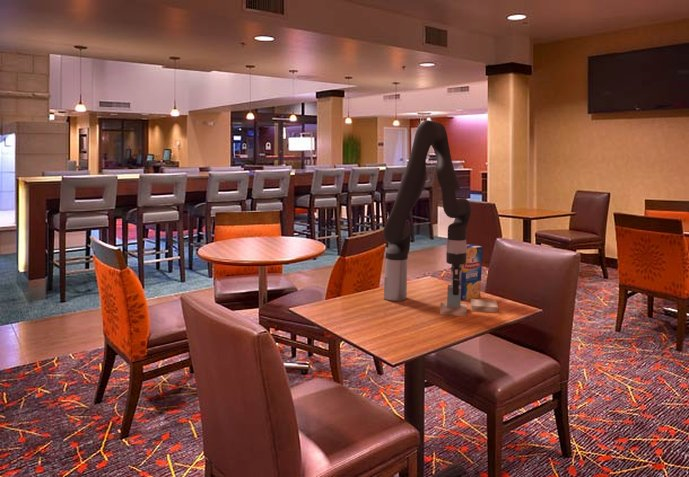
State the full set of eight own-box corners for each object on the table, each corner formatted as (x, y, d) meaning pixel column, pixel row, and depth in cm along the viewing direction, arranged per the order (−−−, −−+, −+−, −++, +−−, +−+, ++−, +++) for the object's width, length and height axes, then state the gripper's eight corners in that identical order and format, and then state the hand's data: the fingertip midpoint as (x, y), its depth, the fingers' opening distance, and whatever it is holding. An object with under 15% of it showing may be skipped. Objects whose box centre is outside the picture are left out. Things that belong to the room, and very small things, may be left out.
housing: (446, 308, 211) (447, 287, 210) (447, 304, 216) (447, 284, 215) (460, 308, 210) (461, 288, 209) (459, 305, 215) (460, 285, 214)
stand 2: (471, 310, 215) (471, 305, 215) (470, 303, 225) (470, 298, 225) (497, 312, 213) (498, 307, 213) (495, 305, 223) (496, 300, 223)
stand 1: (439, 314, 210) (440, 309, 210) (440, 307, 220) (440, 302, 219) (466, 316, 208) (466, 311, 208) (466, 308, 218) (466, 303, 217)
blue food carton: (480, 297, 235) (482, 246, 231) (461, 300, 229) (463, 248, 226) (469, 293, 241) (471, 244, 237) (450, 296, 235) (452, 246, 232)
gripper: (446, 247, 218) (445, 287, 220) (446, 254, 204) (445, 296, 206) (465, 248, 216) (464, 288, 219) (467, 254, 202) (466, 297, 205)
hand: (455, 292), depth 212 cm, fingers open, 8 cm apart
